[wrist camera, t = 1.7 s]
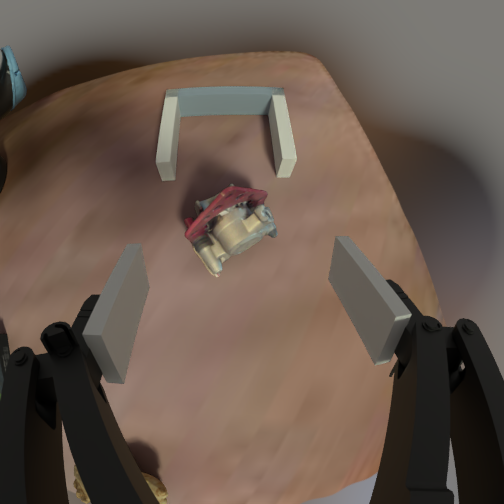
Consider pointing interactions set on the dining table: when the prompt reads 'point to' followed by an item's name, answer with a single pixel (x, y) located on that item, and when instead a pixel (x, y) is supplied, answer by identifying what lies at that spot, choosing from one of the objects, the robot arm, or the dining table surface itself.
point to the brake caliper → (229, 225)
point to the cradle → (225, 103)
